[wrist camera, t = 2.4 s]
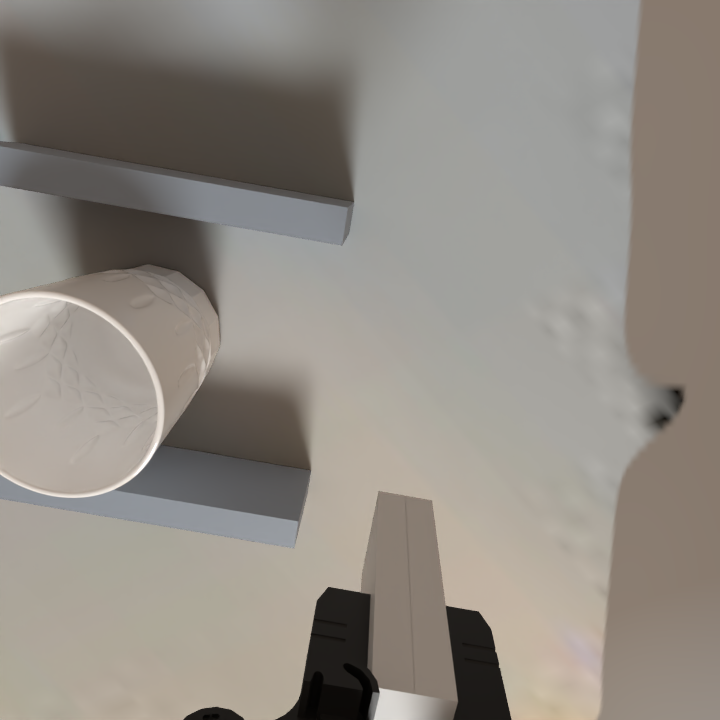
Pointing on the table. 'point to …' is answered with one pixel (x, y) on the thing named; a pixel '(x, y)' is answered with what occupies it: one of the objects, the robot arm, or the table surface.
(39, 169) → the walled channel
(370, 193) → the table surface
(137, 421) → the white cup
